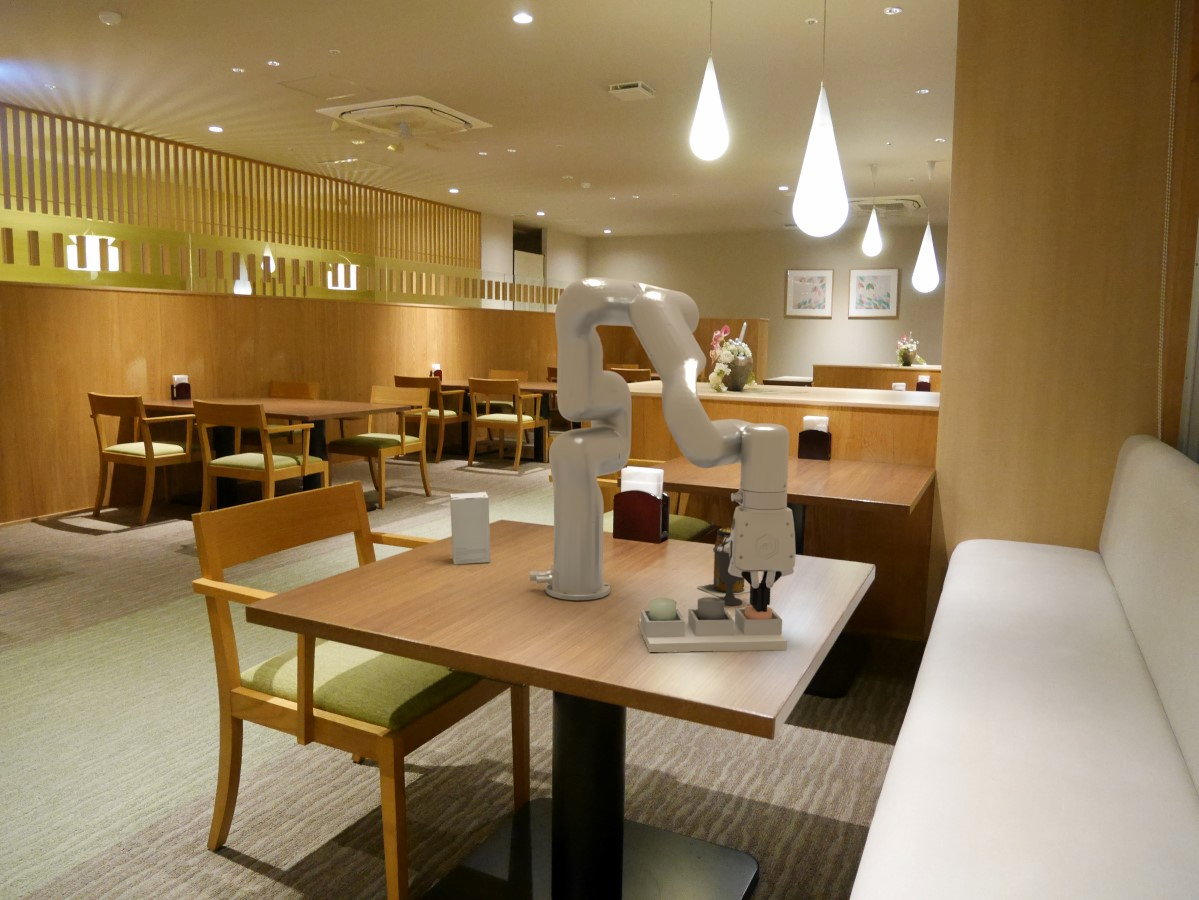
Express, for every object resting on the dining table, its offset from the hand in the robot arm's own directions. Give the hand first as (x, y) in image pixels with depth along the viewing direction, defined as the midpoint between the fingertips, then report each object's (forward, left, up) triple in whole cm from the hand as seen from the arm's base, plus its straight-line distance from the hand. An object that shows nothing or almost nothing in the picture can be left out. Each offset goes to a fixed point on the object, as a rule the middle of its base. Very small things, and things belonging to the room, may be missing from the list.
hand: (759, 609), depth 142 cm
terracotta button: (0, 0, -3) cm, 3 cm away
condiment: (+1, +27, -5) cm, 28 cm away
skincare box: (-50, +51, -5) cm, 72 cm away
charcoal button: (-8, 0, -2) cm, 8 cm away
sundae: (0, +19, -5) cm, 20 cm away
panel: (-8, 0, -5) cm, 9 cm away
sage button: (-16, 0, -2) cm, 16 cm away
